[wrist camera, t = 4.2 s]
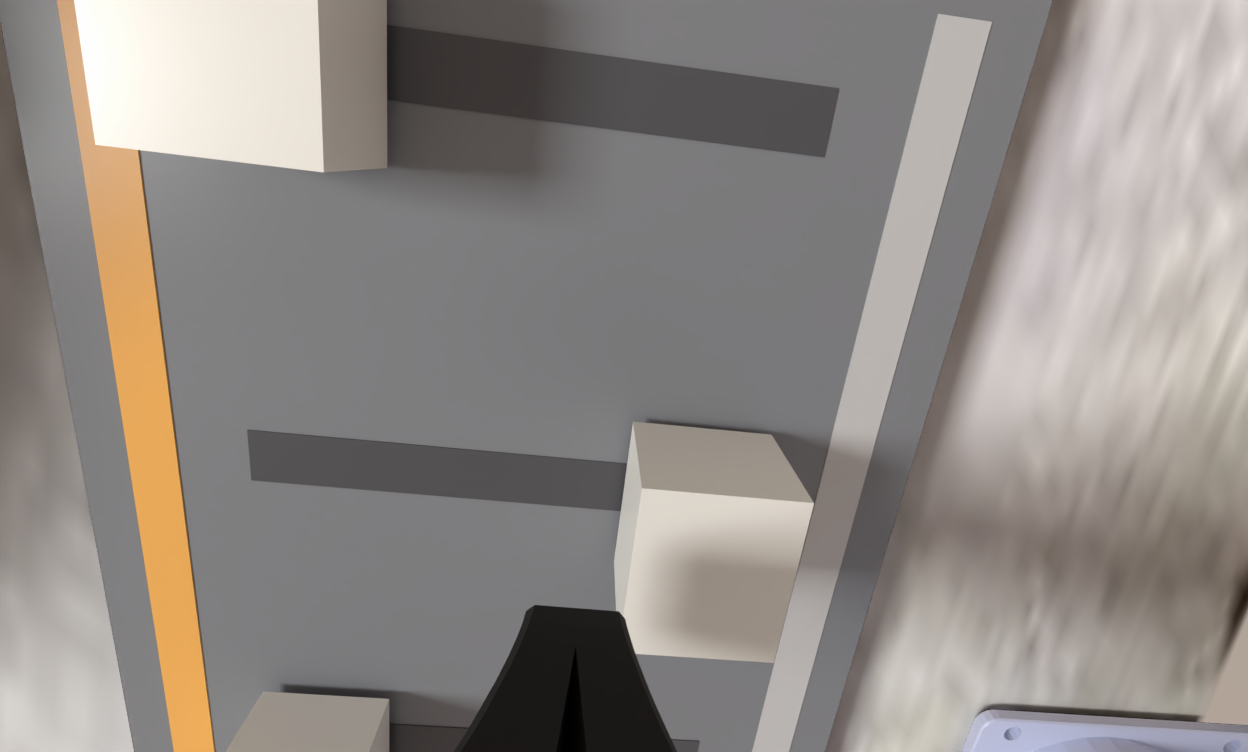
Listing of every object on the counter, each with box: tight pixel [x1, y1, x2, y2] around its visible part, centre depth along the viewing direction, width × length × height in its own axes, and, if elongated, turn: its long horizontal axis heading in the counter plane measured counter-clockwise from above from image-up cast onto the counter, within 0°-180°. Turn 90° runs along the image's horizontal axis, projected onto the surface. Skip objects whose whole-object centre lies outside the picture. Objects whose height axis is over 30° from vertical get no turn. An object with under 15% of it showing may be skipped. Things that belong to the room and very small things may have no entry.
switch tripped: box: [614, 422, 814, 663], centre depth 13 cm, size 3×4×3 cm
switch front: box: [74, 0, 387, 172], centre depth 9 cm, size 3×4×3 cm
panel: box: [0, 0, 1053, 752], centre depth 15 cm, size 18×24×2 cm
